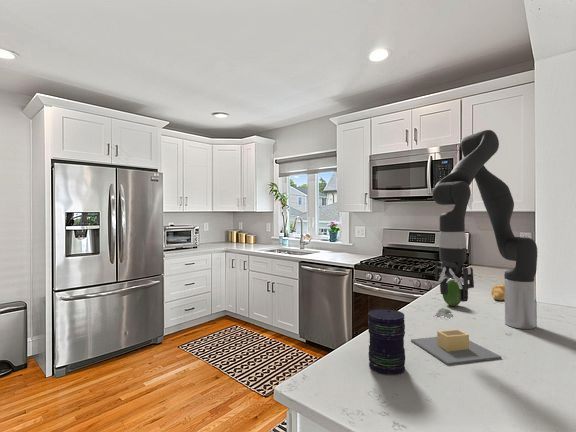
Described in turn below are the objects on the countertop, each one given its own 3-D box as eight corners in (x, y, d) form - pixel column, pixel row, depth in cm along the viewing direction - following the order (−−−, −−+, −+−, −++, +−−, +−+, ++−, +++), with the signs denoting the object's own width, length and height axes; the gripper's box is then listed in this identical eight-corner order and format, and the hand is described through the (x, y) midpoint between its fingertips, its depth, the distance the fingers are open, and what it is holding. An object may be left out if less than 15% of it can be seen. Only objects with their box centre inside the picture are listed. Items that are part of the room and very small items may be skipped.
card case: (437, 345, 105) (437, 331, 105) (458, 343, 107) (458, 329, 107) (447, 351, 101) (447, 336, 101) (469, 349, 102) (468, 334, 102)
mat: (457, 336, 114) (457, 334, 114) (501, 358, 97) (501, 356, 97) (410, 341, 110) (410, 339, 110) (447, 365, 93) (447, 363, 93)
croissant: (501, 309, 156) (510, 296, 153) (481, 296, 163) (489, 283, 160) (516, 300, 170) (525, 288, 167) (497, 288, 176) (504, 276, 173)
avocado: (462, 304, 153) (462, 278, 153) (461, 309, 146) (460, 282, 146) (443, 302, 157) (443, 277, 157) (441, 306, 150) (441, 280, 150)
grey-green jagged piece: (440, 328, 126) (440, 326, 126) (421, 323, 131) (421, 321, 131) (458, 314, 140) (458, 311, 140) (440, 309, 145) (440, 307, 145)
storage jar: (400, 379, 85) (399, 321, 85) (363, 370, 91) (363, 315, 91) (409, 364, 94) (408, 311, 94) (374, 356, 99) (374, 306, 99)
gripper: (427, 244, 109) (428, 293, 109) (458, 248, 95) (459, 304, 95) (447, 243, 111) (448, 291, 111) (480, 247, 97) (481, 302, 97)
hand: (453, 297), depth 103 cm, fingers open, 8 cm apart
